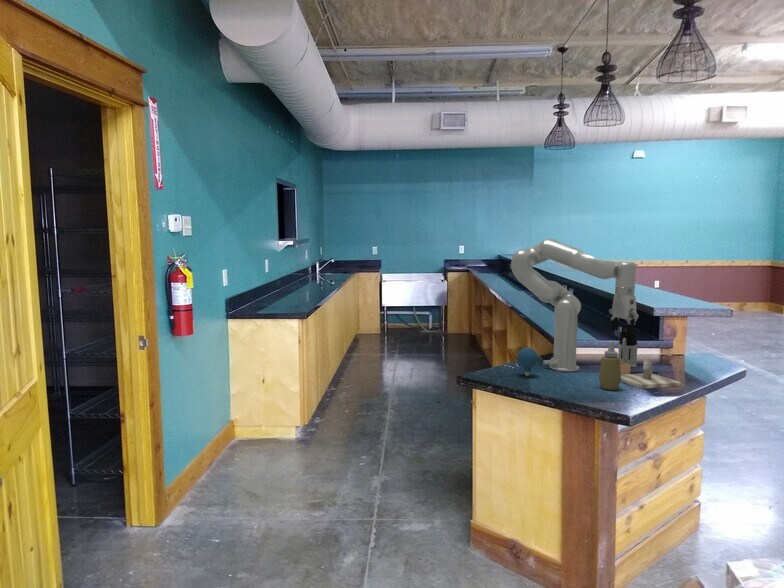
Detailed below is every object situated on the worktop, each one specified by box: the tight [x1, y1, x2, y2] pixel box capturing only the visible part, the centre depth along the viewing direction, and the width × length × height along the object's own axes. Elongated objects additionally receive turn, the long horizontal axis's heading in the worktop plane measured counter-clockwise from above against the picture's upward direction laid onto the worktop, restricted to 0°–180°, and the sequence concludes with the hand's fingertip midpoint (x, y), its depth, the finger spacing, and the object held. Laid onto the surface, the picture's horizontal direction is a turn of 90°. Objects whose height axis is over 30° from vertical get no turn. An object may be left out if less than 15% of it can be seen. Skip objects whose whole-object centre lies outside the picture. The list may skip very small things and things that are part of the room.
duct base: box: [621, 357, 682, 390], centre depth 220 cm, size 18×16×10 cm
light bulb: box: [517, 347, 539, 377], centre depth 228 cm, size 8×8×12 cm
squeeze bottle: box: [598, 341, 622, 391], centre depth 210 cm, size 8×8×18 cm
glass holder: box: [617, 331, 638, 367], centre depth 248 cm, size 9×14×15 cm, turn 144°
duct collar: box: [620, 362, 632, 375], centre depth 232 cm, size 6×6×5 cm
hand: (622, 331), depth 231 cm, fingers open, 9 cm apart
